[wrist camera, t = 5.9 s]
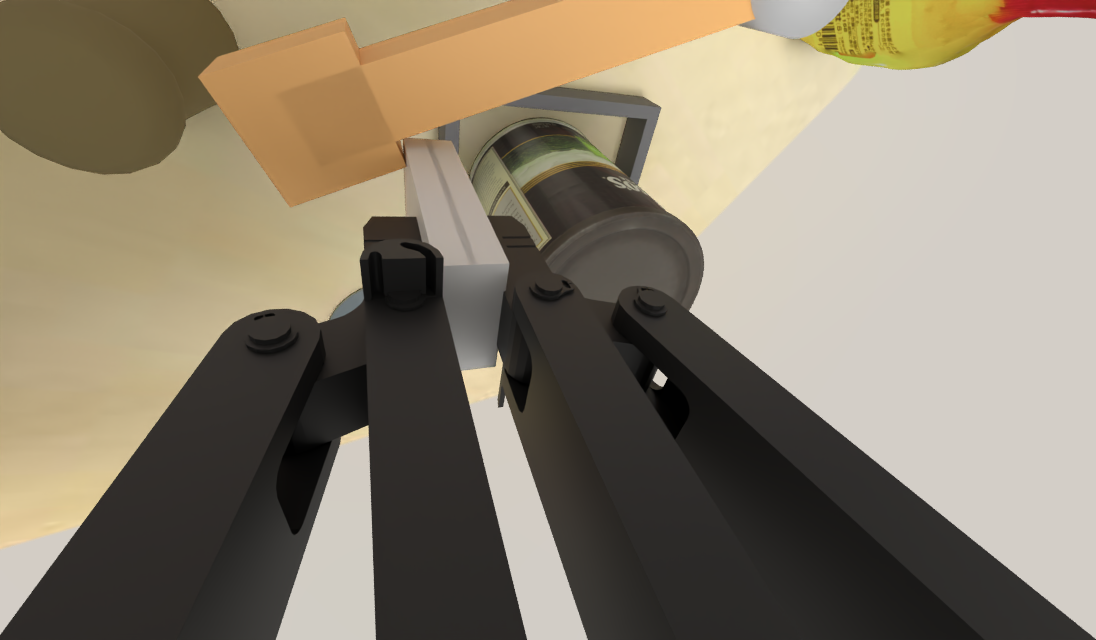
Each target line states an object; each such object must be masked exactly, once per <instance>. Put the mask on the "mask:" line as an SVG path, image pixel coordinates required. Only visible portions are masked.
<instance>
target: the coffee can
mask: <svg viewBox="0 0 1096 640" xmlns="http://www.w3.org/2000/svg"><path fill="white" fill-rule="evenodd" d="M469 179H470V181H471V183H472V185H473V187H474V190H475V192H476V194H477V196H478V198H479V200H480V202H481V204H482V207H483V209H484V211H485V213H486V215H487V216H512V217H514V218H515V219H516V220H518V221H519V222H521V223H522V224H523V225H524V226H525V227H526V229H527V231H528V232H529V234H530V236H531V238H532V239H533V241H534V243H535V244H536V247H537V248H538V250H539V251H540V253H541V255H542V256H543V258H544V260H545V262H546V263H547V265H548V267H549V268H550V270H551V272H552V273H555V274H558V275H562V276H563V277H565V278H567V279H569V280H571V281H572V282H573V283H574V284H575V285H576V286H577V287H578V288H579V290H580V292H581V293H582V295H583V296H584V298H588V299H592V300H598V301H605V302H612V303H616V302H617V299H618V296H619V294H620V292H621V291H622V290H623V289H625V288H627V287H630V286H646V287H652V288H654V289H657V290H659V291H662V292H664V293H665V294H667V295H668V296H670V297H672V298H673V299H674V300H676V301H677V302H678V303H679V304H681V305H682V306H683V307H684V308H685V309H687V310H688V311H689V310H690V308H691V306H692V304H693V302H694V300H695V298H696V296H697V294H698V291H699V288H700V285H701V281H702V277H703V271H704V259H703V252H702V248H701V246H700V243H699V241H698V239H697V237H696V236H695V234H694V233H693V231H692V230H691V229H690V228H689V227H688V226H687V225H686V224H685V223H683V222H682V221H681V220H679V219H678V218H677V217H675V216H674V215H672V214H670V213H668V212H667V211H665V210H664V209H663V208H662V207H661V206H660V205H659V204H658V203H657V202H656V201H655V200H653V199H652V198H651V197H650V196H649V195H648V194H647V193H646V192H645V191H643V190H642V189H641V188H640V187H639V186H638V185H637V184H635V183H634V182H633V181H632V180H631V179H630V178H629V177H628V176H627V175H626V174H624V173H623V172H622V171H621V170H620V169H619V168H618V167H616V166H615V165H614V164H613V163H612V162H611V161H610V160H609V159H608V158H606V157H605V156H604V155H603V154H602V153H601V152H600V151H599V150H598V149H597V148H596V147H595V146H593V145H592V144H591V143H590V142H589V141H588V140H587V139H586V138H585V136H584V135H583V134H582V133H581V132H580V131H578V130H577V129H575V128H574V127H572V126H571V125H569V124H566V123H564V122H561V121H558V120H554V119H549V118H534V119H528V120H523V121H520V122H517V123H515V124H513V125H510V126H508V127H507V128H505V129H503V130H502V131H500V132H499V133H498V134H496V135H495V136H494V137H493V138H492V139H491V140H489V141H488V143H487V144H486V145H485V146H484V147H483V148H482V150H481V151H480V153H479V155H478V156H477V158H476V160H475V162H474V164H473V167H472V169H471V172H470V176H469Z"/></svg>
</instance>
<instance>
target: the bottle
mask: <svg viewBox="0 0 1096 640" xmlns="http://www.w3.org/2000/svg"><path fill="white" fill-rule="evenodd" d="M1022 17H1080V18H1094V19H1096V0H849V1H848V2H847V3H846V5H845V6H844V7H843V9H842V10H841V11H840V12H839V13H838V14H837V15H836V16H835V18H834V19H833V20H831V21H830V22H829V23H828V24H827V25H826V26H824V27H823V28H822V29H820V30H819V31H817V32H815V33H814V34H811V35H809V36H807V37H803V38H800V39H801V40H802V41H804V42H806V43H808V44H809V45H811V46H812V47H813V48H815V49H816V50H817V51H819V52H822V53H825V54H830V55H833V56H836V57H838V58H840V59H842V60H844V61H846V62H848V63H852V64H858V65H867V66H877V67H884V68H889V69H897V70H906V69H907V70H908V69H919V68H927V67H934V66H938V65H940V64H944V63H946V62H948V61H951V60H953V59H955V58H958V57H960V56H962V55H964V54H966V53H968V52H969V51H971V50H972V49H973V48H975V47H976V46H977V45H978V44H979V43H981V42H983V41H985V40H986V39H989V38H990V37H992V36H993V35H995V34H997V33H998V32H1000V31H1001V30H1003V29H1004V28H1006V27H1007V26H1008V25H1010V24H1011V23H1012V22H1015V21H1016V20H1018V19H1020V18H1022Z"/></svg>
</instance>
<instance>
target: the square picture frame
mask: <svg viewBox="0 0 1096 640" xmlns="http://www.w3.org/2000/svg"><path fill="white" fill-rule="evenodd" d="M503 106H514V107H524V108H535V109H545V110H556V111H566V112H577V113H587V114H598V115H608V116H619V117H628V118H627V122H626V126H625V130H624V134H623V137H622V141H621V145H620V149H619V153H618V156H617V160H616V164H615V166H616V167H618V168H619V169H620V170H621V171H622V172H623V173H624V174H626V175H627V176H628V177H629V178H630V179H631V180H632V181H633V182H634V183H635V184H637V185H638V182H639V179H640V176H641V173H642V169H643V166H644V163H645V159H646V156H647V153H648V150H649V146H650V143H651V140H652V136H653V133H654V130H655V127H656V123H657V120H658V117H659V113H660V110H661V107H660V106H658V105H656V104H654V103H653V102H651V101H649V100H648V99H646V98H644V97H638V96H630V95H621V94H612V93H604V92H595V91H586V90H578V89H569V88H561V87H554V88H551V89H548V90H545V91H542V92H539V93H537V94H534V95H531V96H528V97H525V98H522V99H519V100H516V101H513V102H510V103H507V104H504V105H503ZM459 126H460V120H457V121H454V122H452V123H449V124H446V125H443V126H440V127H439V140H446V141H452V143H453V145H454V147H455V149H456V152H457V154H458V151H459Z"/></svg>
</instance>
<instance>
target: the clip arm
mask: <svg viewBox="0 0 1096 640" xmlns="http://www.w3.org/2000/svg"><path fill="white" fill-rule="evenodd" d="M848 1H849V0H511V1H508V2H504V3H501V4H498V5H495V6H492V7H489V8H485V9H482V10H479V11H476V12H473V13H470V14H467V15H463V16H460V17H457V18H454V19H451V20H448V21H444V22H441V23H438V24H435V25H432V26H429V27H426V28H422V29H419V30H416V31H413V32H410V33H407V34H403V35H400V36H397V37H394V38H391V39H388V40H385V41H381V42H378V43H375V44H372V45H369V46H366V47H363V48H358V46H357V43H356V41H355V39H354V37H353V34H352V32H351V30H350V28H349V25H348V23H347V21H346V19H345V18H341V19H338V20H335V21H332V22H328V23H325V24H322V25H319V26H316V27H312V28H309V29H306V30H303V31H299V32H296V33H293V34H290V35H286V36H283V37H280V38H277V39H273V40H270V41H267V42H264V43H261V44H257V45H254V46H251V47H248V48H244V49H241V50H238V51H235V52H231V53H228V54H225V55H222V56H218V57H217V58H216V59H215V60H214V61H213V62H212V63H211V64H210V65H209V66H208V67H207V68H206V69H205V70H204V71H203V72H202V73H201V74H200V75H199V76H198V78H199V79H200V80H201V82H202V83H203V85H204V86H205V88H206V89H207V90H208V92H209V93H210V95H211V96H212V97H213V99H214V100H215V102H216V103H217V105H218V106H219V107H220V109H221V110H222V112H223V113H224V114H225V116H226V117H227V119H228V120H229V122H230V123H231V124H232V126H233V127H234V129H235V130H236V131H237V133H238V134H239V136H240V137H241V139H242V140H243V141H244V143H245V144H246V146H247V147H248V148H249V150H250V151H251V153H252V154H253V156H254V157H255V158H256V160H257V161H258V163H259V164H260V165H261V167H262V168H263V170H264V171H265V172H266V174H267V175H268V177H269V178H270V180H271V181H272V182H273V184H274V185H275V187H276V188H277V189H278V191H279V192H280V194H281V195H282V197H283V198H284V199H285V201H286V202H287V204H288V205H289V206H290V207H293V206H296V205H298V204H301V203H304V202H307V201H310V200H313V199H316V198H319V197H321V196H324V195H327V194H330V193H333V192H336V191H339V190H342V189H344V188H347V187H350V186H353V185H356V184H359V183H362V182H365V181H367V180H370V179H373V178H376V177H379V176H382V175H385V174H388V173H390V172H393V171H396V170H399V169H402V168H405V167H407V166H406V162H405V158H404V154H403V150H402V146H401V142H400V140H402V139H405V138H408V137H410V136H413V135H416V134H419V133H422V132H425V131H428V130H431V129H434V128H437V127H440V126H443V125H446V124H449V123H452V122H454V121H457V120H460V119H463V118H466V117H469V116H472V115H475V114H478V113H481V112H484V111H487V110H490V109H493V108H496V107H498V106H501V105H504V104H507V103H510V102H513V101H516V100H519V99H522V98H525V97H528V96H531V95H534V94H537V93H539V92H542V91H545V90H548V89H551V88H554V87H557V86H560V85H563V84H566V83H569V82H572V81H575V80H578V79H581V78H583V77H586V76H589V75H592V74H595V73H598V72H601V71H604V70H607V69H610V68H613V67H616V66H619V65H622V64H624V63H627V62H630V61H633V60H636V59H639V58H642V57H645V56H648V55H651V54H654V53H657V52H660V51H663V50H666V49H668V48H671V47H674V46H677V45H680V44H683V43H686V42H689V41H692V40H695V39H698V38H701V37H704V36H707V35H710V34H712V33H715V32H718V31H721V30H724V29H727V28H730V27H733V26H736V25H738V26H742V27H746V28H750V29H754V30H758V31H762V32H766V33H770V34H774V35H778V36H782V37H786V38H791V39H798V38H803V37H807V36H809V35H811V34H814V33H815V32H817V31H819V30H820V29H822V28H823V27H824V26H826V25H827V24H828V23H829V22H830V21H831V20H833V19H834V18H835V16H836V15H837V14H838V13H839V12H840V11H841V10H842V9H843V7H844V6H845V5H846V3H847V2H848Z"/></svg>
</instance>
